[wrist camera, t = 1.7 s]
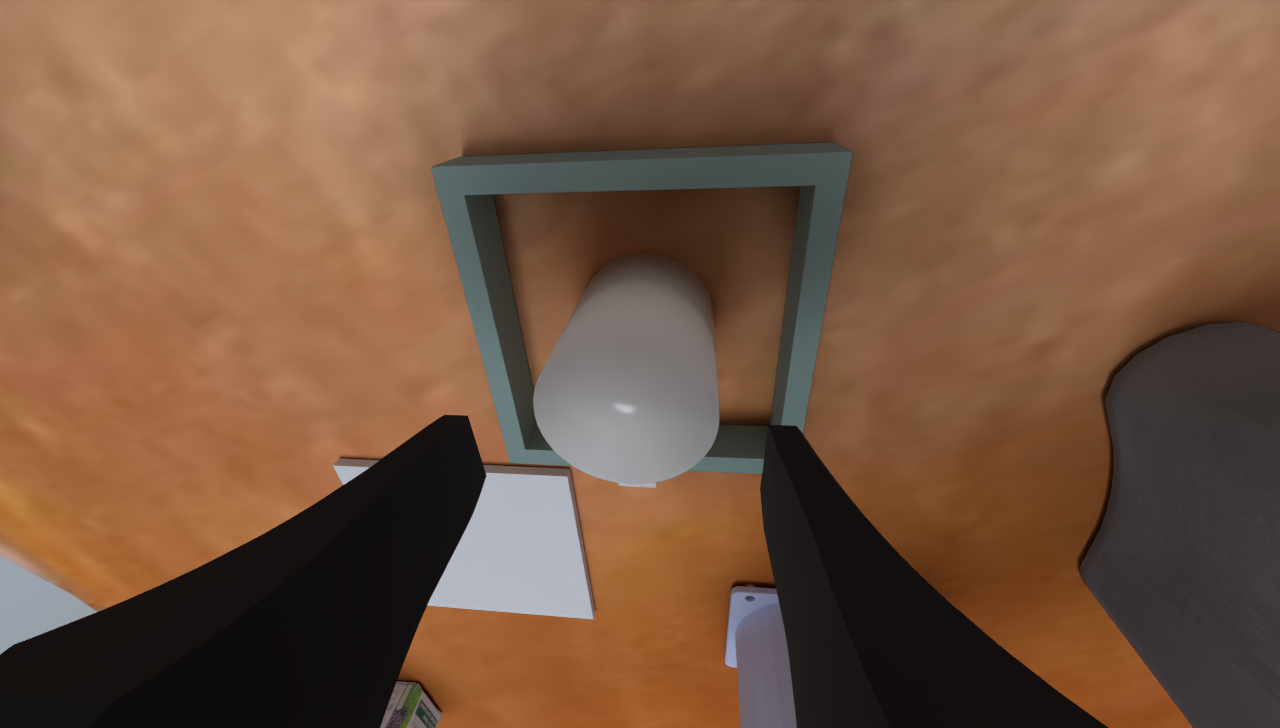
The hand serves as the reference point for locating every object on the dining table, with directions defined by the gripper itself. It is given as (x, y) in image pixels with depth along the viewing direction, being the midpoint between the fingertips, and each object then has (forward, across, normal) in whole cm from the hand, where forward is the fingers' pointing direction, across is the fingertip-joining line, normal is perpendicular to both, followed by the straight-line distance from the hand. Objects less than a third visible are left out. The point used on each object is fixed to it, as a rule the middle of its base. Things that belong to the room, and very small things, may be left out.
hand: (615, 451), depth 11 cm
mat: (+7, +10, +14) cm, 19 cm away
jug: (+7, 0, 0) cm, 7 cm away
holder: (+7, 0, 0) cm, 7 cm away
